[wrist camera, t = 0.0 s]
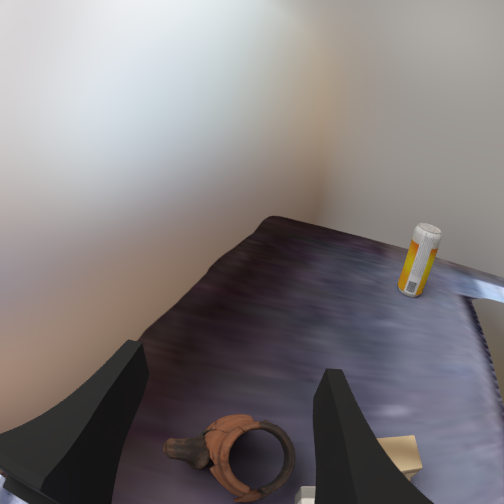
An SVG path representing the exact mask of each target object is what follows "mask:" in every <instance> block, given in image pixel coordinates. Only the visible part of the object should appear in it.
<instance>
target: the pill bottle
mask: <svg viewBox="0 0 504 504" xmlns="http://www.w3.org/2000/svg"><path fill="white" fill-rule="evenodd" d="M440 241H441V231H440V230H439V229H438V228H436V227H434V226H432V225H429V224H425V223H419V224H418V226H417V227H416V228H415V231H414V234H413V237H412V241H411V244H410V248H409V251H408V254H407V257H406V260H405V263H404V266H403V269H402V272H401V275H400V278H399V281H398V287H399V290H400V292H402V293H403V294H404V295H407V296H409V297H417V296H419V295H420V294H422V292H423V289H424V286H425V284H426V281H427V279H428V276H429V273H430V270H431V268H432V265H433V262H434V259H435V256H436V253H437V250H438V247H439V244H440Z"/></svg>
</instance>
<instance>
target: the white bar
mask: <svg viewBox="0 0 504 504" xmlns="http://www.w3.org/2000/svg"><path fill="white" fill-rule="evenodd" d="M315 489H316V487H301V488H300V490H299V491H298V492H297V494H296V495H295V504H314V501H315Z"/></svg>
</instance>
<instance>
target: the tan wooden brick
mask: <svg viewBox="0 0 504 504" xmlns="http://www.w3.org/2000/svg"><path fill="white" fill-rule="evenodd" d="M377 440H378V442H379V443H380V445H381V446H382V448H383V449H384V450H385V452H386V453H387V455H388V456H389V457H390V459H391V460H392V461H393V463H394V464H395V465H396V466H397V467H398V469H399V470H400V471H401V472H402V473H403V474H404V475H405V477H406V478H407V479H408V480H409V481H411V477H413V476H414V475H415V474H416V473H417V472H418V471H419V470H420V469H422V464H421V460H420V456H419V452H418V448H417V445H416V441H415V437H414V435H412V436H402V437H390V438H377Z"/></svg>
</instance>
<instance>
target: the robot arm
mask: <svg viewBox="0 0 504 504" xmlns="http://www.w3.org/2000/svg"><path fill="white" fill-rule="evenodd" d="M148 376H149V371H148V367H147V362H146V358H145V354H144V349H143V344H142V343H141V342H137V341H132V340H127V341H126V342H125V343H124V344H123V345H122V346H121V347H120V349H118V350H117V351H116V352H115V354H114V355H113V356H112V357H111V358H110V359H109V360H108V361H107V362H106V363H105V364H104V365H103V366H102V367H101V368H100V369H99V370H98V371H97V372H96V373H95V374H94V375H92V377H90V378H89V379H88V380H87V381H86V382H85V383H84V384H82V385H81V386H80V387H79V388H78V389H77V390H76V391H74V392H73V393H72V394H71V395H70V396H68V397H67V398H66V399H64V400H63V401H61V402H60V403H59V404H57V405H56V406H55V407H53V408H51V409H50V410H48V411H47V412H45V413H43V414H42V415H40V416H38V417H37V418H35V419H33V420H31V421H29V422H27V423H25V424H23V425H21V426H19V427H17V428H14V429H12V430H9V431H7V432H4V433H2V434H0V469H1V470H2V471H4V472H5V473H6V474H8V476H7V478H4V477H3V476H1V475H0V504H111V502H112V495H113V489H114V483H115V478H116V473H117V468H118V464H119V460H120V456H121V452H122V448H123V445H124V442H125V439H126V436H127V434H128V431H129V429H130V426H131V424H132V421H133V419H134V416H135V414H136V412H137V409H138V407H139V404H140V402H141V399H142V397H143V394H144V391H145V387H146V383H147V380H148ZM313 429H314V443H315V456H316V489H315V501H314V504H434V503H433V502H432V501H430V500H429V499H428V498H427V497H426V496H424V495H423V494H422V493H421V492H420V491H419V490H418V489H417V488H416V487H415V486H414V485H413V484H412V483H411V482H410V481H409V480H408V479H407V478H406V477H405V475H404V474H403V473H402V472H401V471H400V470H399V469H398V467H397V466H396V465H395V464H394V463H393V461H392V460H391V459H390V457H389V456H388V455H387V453H386V452H385V450H384V449H383V448H382V446H381V445H380V443H379V442H378V440H377V438H376V437H375V435H374V433H373V432H372V430H371V428H370V427H369V425H368V423H367V421H366V420H365V418H364V416H363V414H362V412H361V410H360V408H359V406H358V404H357V402H356V400H355V398H354V396H353V394H352V391H351V389H350V387H349V385H348V382H347V380H346V378H345V375H344V373H343V371H342V370H341V369H326V370H325V373H324V375H323V377H322V379H321V382H320V384H319V386H318V389H317V391H316V393H315V395H314V401H313Z"/></svg>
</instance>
